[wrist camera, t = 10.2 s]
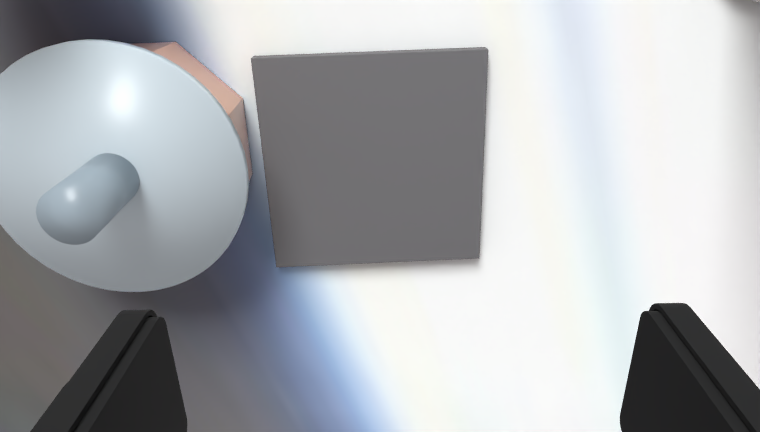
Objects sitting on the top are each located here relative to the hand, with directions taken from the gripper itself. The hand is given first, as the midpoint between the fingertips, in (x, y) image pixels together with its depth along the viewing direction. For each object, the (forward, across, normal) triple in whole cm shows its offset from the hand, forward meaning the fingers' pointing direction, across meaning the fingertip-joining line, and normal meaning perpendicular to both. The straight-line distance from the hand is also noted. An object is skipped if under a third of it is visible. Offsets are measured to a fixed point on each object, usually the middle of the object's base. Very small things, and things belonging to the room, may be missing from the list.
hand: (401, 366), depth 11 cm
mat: (+26, +1, +5) cm, 27 cm away
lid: (+20, +15, +3) cm, 25 cm away
